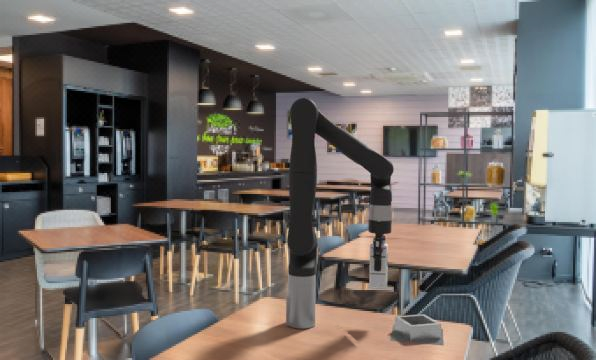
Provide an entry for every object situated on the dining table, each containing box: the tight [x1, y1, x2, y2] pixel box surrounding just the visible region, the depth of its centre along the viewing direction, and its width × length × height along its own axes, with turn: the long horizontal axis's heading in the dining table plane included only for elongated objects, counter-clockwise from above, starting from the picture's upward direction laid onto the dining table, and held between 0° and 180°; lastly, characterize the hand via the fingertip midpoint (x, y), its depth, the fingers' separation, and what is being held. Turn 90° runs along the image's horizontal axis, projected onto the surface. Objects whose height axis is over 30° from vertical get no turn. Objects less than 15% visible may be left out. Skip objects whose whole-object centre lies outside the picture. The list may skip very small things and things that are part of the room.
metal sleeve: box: [394, 313, 442, 341], centre depth 164 cm, size 10×10×4 cm
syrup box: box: [368, 242, 389, 290], centre depth 175 cm, size 6×6×14 cm
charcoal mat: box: [389, 324, 445, 346], centre depth 165 cm, size 16×16×1 cm
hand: (378, 268), depth 175 cm, fingers closed on syrup box, 6 cm apart
